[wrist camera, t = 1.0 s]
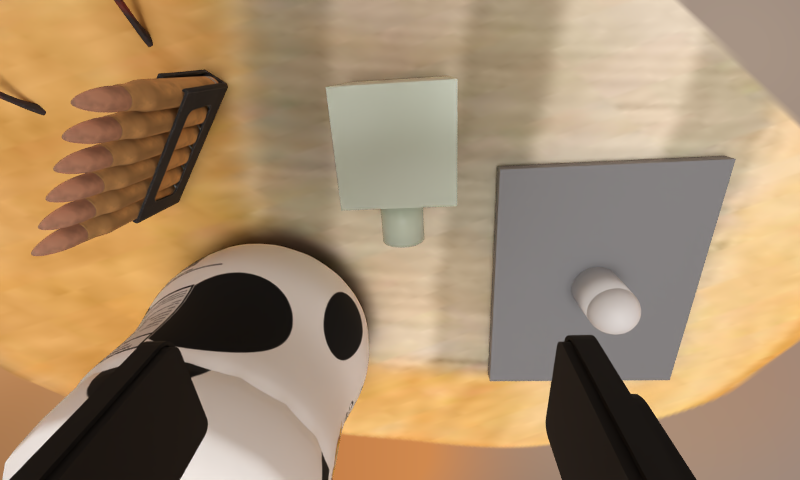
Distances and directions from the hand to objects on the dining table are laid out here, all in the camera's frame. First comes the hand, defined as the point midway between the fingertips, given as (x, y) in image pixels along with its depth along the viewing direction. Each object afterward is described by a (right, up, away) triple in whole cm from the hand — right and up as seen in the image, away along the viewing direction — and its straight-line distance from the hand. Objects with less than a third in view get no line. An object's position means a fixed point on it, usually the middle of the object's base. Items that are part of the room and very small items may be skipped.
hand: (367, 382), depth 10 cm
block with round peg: (+1, +10, +19) cm, 21 cm away
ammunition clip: (-15, +11, +20) cm, 27 cm away
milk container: (-10, -3, +26) cm, 28 cm away
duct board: (+17, 0, +22) cm, 28 cm away
